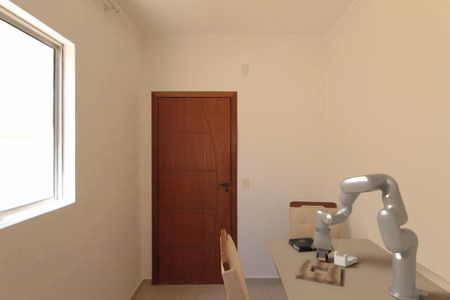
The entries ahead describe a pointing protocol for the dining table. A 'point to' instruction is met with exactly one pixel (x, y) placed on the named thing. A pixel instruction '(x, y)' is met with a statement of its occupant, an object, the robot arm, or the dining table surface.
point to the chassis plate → (307, 274)
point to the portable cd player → (302, 244)
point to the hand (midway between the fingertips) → (322, 259)
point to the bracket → (344, 259)
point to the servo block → (322, 255)
